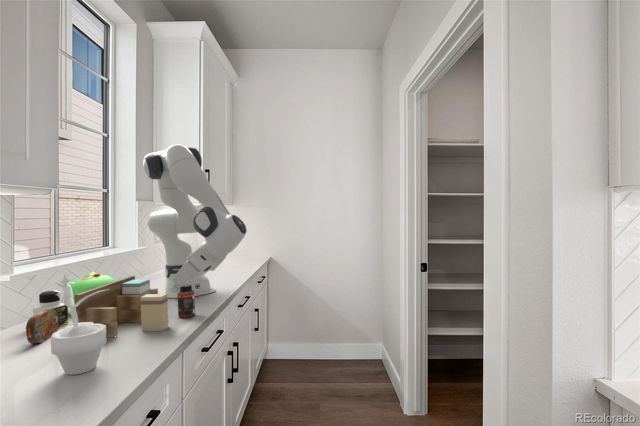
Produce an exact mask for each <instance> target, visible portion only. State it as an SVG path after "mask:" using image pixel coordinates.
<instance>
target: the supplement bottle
mask: <svg viewBox="0 0 640 426" xmlns="http://www.w3.org/2000/svg"><path fill="white" fill-rule="evenodd" d="M191 288H192V287H191V285H188V286H185V285H184V286H182V287H180V291H179V292H178V294H177V297H178V298H177V316H178V318H183V319H184V318H192V317H194V316H195V315H196V304H195V303H196V300H195V299H196V298H195V297H196V296H195V294H194V291H193V290H192V289H191Z"/></svg>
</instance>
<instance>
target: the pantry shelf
mask: <svg viewBox="0 0 640 426" xmlns="http://www.w3.org/2000/svg"><path fill="white" fill-rule="evenodd" d="M135 277H136V276H135V275H129V276H126V277H123V278H121V279H117V280H116V281H114V282H111V283H108V284H105V285H103V286H100V287H97V288H94V289H91V290H88V291H85V292H82V293H79V294H76V295H75V304H76V303H77V302H78V301H79V300H81V299H82V298H84V297H86V296H88V295H90V294H92V293H95V292H97V291H101V290H106V289H110V290H106V291H103V292H99V293H96V294H94V295H92V296H89V297H88V298H86V299H85V300H84V301H82V302H81V303H80V304H79V305H78V307H76V312H77V316H78V323H81V322H93V324H103V325H106V337H115V336H116V337H118V336H119V335H118V333H119V332H118V323H119V322H121V323H123V322H124V323H125V322H126V323H129V322H130V323H131V322H132V323H133V322H139V323H140V322H141V303H140V301H141V297H142V296H143V295H123V294H122V284H123V283H125V282H128V281H131V280H136V278H135ZM150 294H159V289H158V288H150ZM117 335H118V336H117ZM116 337H115V338H116Z"/></svg>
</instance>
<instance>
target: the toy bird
mask: <svg viewBox="0 0 640 426" xmlns="http://www.w3.org/2000/svg"><path fill="white" fill-rule="evenodd" d="M114 281H117V280H116V279H115V278H114V277H113V276H110V275H108V274H101V273H100V272H99V273H98V272H95V271H91V272H90V273H89V274H88V275H86V276H83V277H81V278H79V279H77V280H76V281H70V282H68V284H69V285H71V288H72V292H73V300H74V305H75V295H76V294H79V293H82V292H85V291H88V290H91V289H94V288H97V287H100V286H103V285H105V284H108V283H111V282H114ZM58 286H60V285H58ZM60 287H61V288H63V287H62V286H60Z"/></svg>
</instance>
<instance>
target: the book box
mask: <svg viewBox="0 0 640 426" xmlns="http://www.w3.org/2000/svg"><path fill="white" fill-rule="evenodd" d="M168 302H169V298H167V294H164V293H158V294H147V295H144V296H142V297H141V301H140V303H141V331H142V332H147V331H148V332H157V331H158V332H160V331H162V332H163V331H164V330H165V329H167V328H169V308H168V307H169V305H168Z"/></svg>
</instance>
